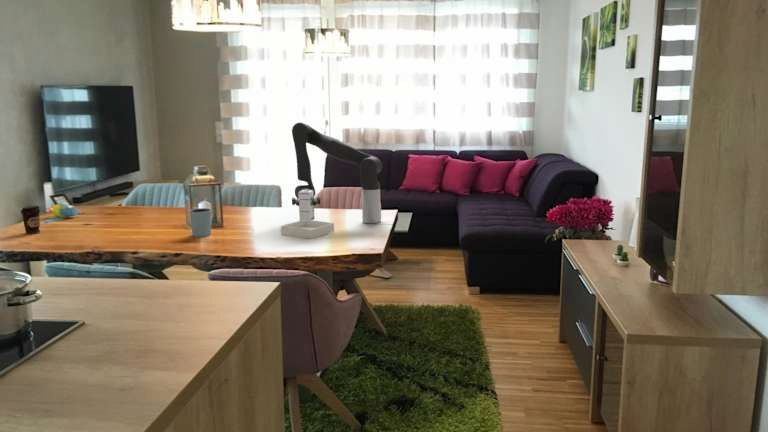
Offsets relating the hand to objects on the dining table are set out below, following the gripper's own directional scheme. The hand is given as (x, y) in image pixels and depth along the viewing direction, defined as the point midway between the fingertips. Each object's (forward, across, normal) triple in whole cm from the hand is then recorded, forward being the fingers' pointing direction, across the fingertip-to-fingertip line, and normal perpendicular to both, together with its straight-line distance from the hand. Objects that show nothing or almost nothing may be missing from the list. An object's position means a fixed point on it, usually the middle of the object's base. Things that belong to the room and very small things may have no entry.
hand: (306, 203), depth 304 cm
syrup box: (-2, 0, +9) cm, 9 cm away
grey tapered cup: (-7, -50, +15) cm, 53 cm away
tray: (-2, 0, +14) cm, 15 cm away
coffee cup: (-27, -132, +16) cm, 136 cm away
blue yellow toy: (-65, -131, +18) cm, 147 cm away
